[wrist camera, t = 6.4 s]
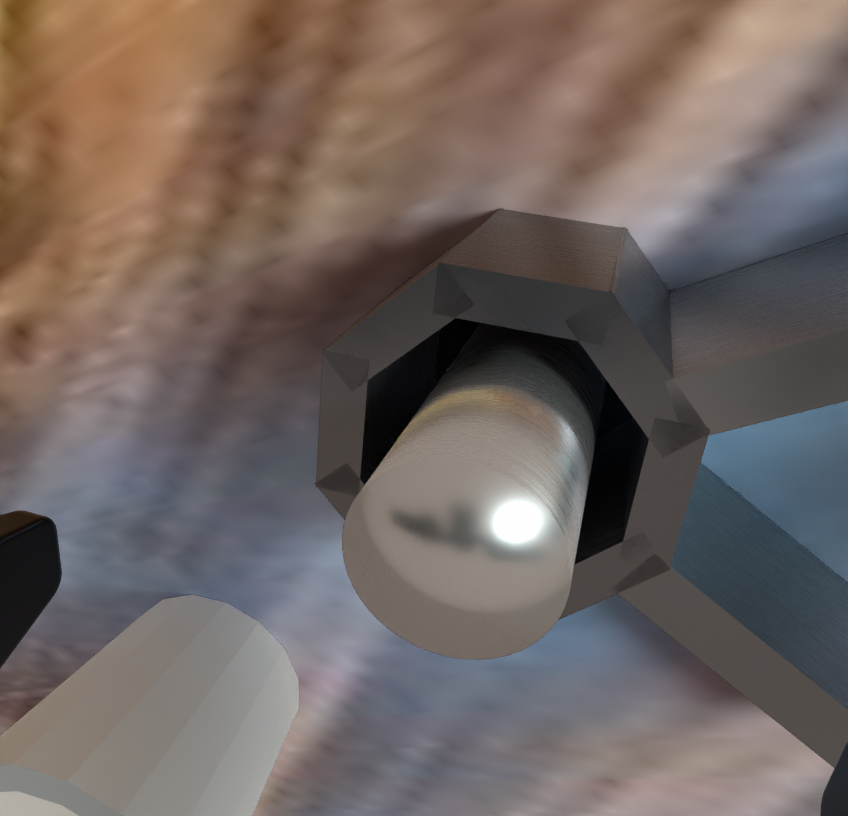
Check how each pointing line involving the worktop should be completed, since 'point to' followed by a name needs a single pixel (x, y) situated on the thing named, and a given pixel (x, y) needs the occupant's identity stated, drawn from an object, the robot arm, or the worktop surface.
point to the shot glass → (158, 721)
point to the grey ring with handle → (643, 434)
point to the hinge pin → (481, 499)
